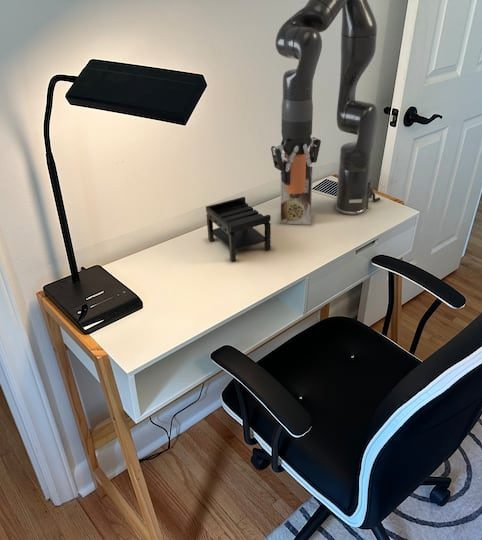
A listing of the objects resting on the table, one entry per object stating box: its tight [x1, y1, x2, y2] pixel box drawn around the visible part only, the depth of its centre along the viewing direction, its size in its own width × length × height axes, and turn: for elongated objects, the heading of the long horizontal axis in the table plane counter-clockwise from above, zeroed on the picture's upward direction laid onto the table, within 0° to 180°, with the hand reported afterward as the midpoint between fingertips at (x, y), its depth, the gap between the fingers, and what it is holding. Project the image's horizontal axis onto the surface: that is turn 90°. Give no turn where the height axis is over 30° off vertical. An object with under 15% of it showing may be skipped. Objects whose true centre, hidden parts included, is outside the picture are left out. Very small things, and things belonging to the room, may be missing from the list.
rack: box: [205, 196, 272, 263], centre depth 140 cm, size 12×14×10 cm
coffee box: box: [279, 166, 313, 226], centre depth 151 cm, size 9×6×16 cm
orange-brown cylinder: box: [286, 153, 306, 194], centre depth 132 cm, size 5×5×10 cm
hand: (295, 181), depth 133 cm, fingers closed on orange-brown cylinder, 5 cm apart
